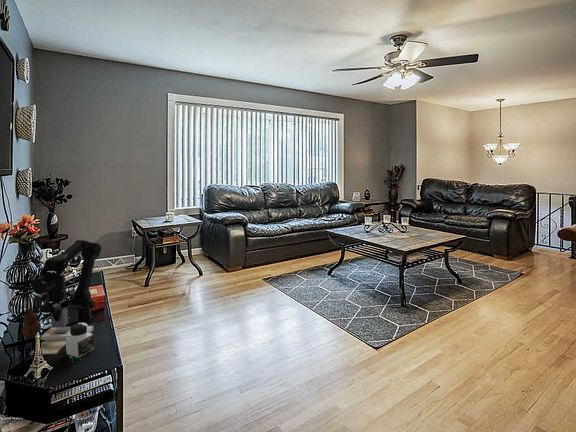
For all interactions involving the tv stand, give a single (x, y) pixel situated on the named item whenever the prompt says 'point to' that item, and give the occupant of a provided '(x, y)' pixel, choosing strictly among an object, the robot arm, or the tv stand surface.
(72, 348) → the medicine bottle
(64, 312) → the charger
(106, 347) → the tv stand surface
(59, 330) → the power strip
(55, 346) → the pad
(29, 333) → the wooden figurine
